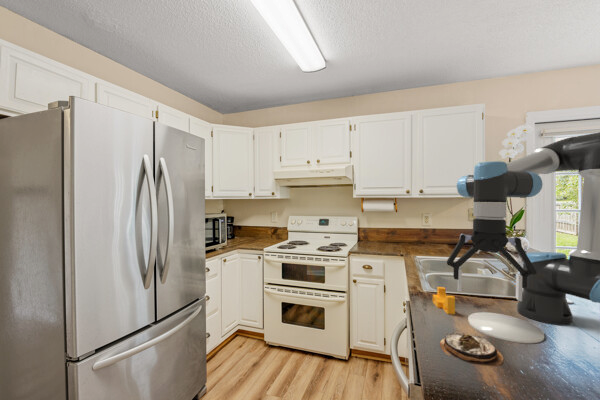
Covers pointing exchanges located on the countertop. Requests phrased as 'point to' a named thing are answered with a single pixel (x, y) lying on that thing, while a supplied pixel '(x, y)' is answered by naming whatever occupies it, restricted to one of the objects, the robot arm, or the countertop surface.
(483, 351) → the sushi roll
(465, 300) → the countertop surface
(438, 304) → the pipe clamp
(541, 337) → the plate
